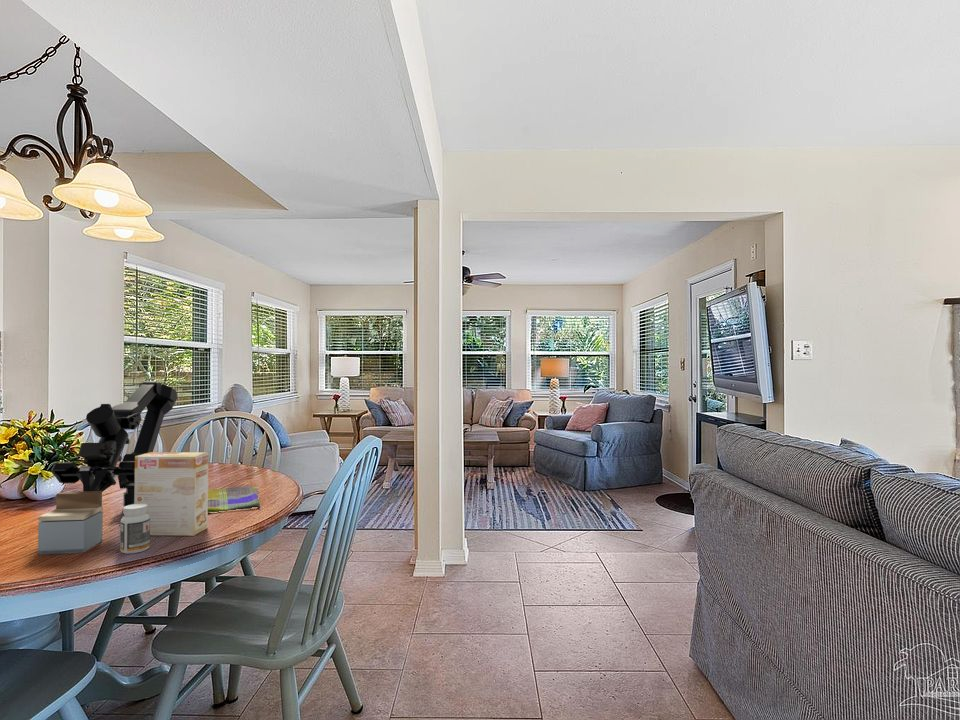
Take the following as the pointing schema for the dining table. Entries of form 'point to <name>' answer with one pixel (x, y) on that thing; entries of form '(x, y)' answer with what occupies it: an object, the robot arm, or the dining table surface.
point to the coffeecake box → (173, 491)
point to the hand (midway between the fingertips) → (85, 502)
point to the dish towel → (232, 498)
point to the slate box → (70, 535)
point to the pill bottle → (135, 529)
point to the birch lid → (75, 506)
